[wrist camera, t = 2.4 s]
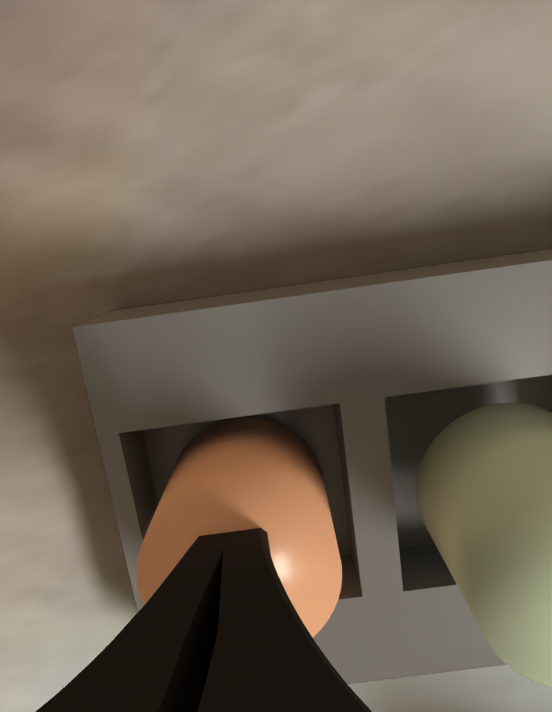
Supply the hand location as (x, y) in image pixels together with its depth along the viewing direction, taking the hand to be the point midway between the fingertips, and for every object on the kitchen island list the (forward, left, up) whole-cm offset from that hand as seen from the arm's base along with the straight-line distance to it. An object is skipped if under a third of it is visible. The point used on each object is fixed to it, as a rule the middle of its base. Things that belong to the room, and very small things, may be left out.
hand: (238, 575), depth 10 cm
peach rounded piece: (0, 0, -3) cm, 3 cm away
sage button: (-5, +4, -2) cm, 6 cm away
